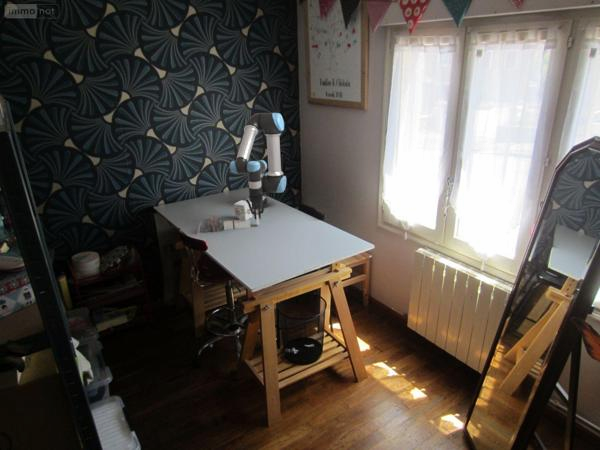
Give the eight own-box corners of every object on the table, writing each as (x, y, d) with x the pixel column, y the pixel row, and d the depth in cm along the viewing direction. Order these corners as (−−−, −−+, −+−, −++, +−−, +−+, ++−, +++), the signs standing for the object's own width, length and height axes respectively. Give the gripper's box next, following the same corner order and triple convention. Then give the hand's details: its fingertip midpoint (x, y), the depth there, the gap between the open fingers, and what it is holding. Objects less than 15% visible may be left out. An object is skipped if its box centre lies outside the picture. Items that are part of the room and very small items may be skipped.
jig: (252, 225, 263) (251, 211, 259) (253, 230, 254) (252, 216, 251) (201, 229, 259) (199, 215, 255) (200, 235, 250) (198, 221, 247)
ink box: (234, 220, 272) (233, 203, 268) (242, 216, 279) (240, 199, 275) (245, 222, 268) (244, 205, 264) (253, 218, 275) (251, 201, 271)
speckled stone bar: (250, 225, 260) (249, 218, 258) (250, 227, 256) (249, 221, 255) (224, 227, 258) (223, 221, 256) (224, 229, 254) (223, 223, 252)
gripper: (265, 184, 254) (268, 220, 262) (244, 186, 252) (247, 222, 261) (266, 188, 247) (269, 225, 255) (244, 189, 245) (247, 226, 254)
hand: (258, 223), depth 258 cm, fingers closed
